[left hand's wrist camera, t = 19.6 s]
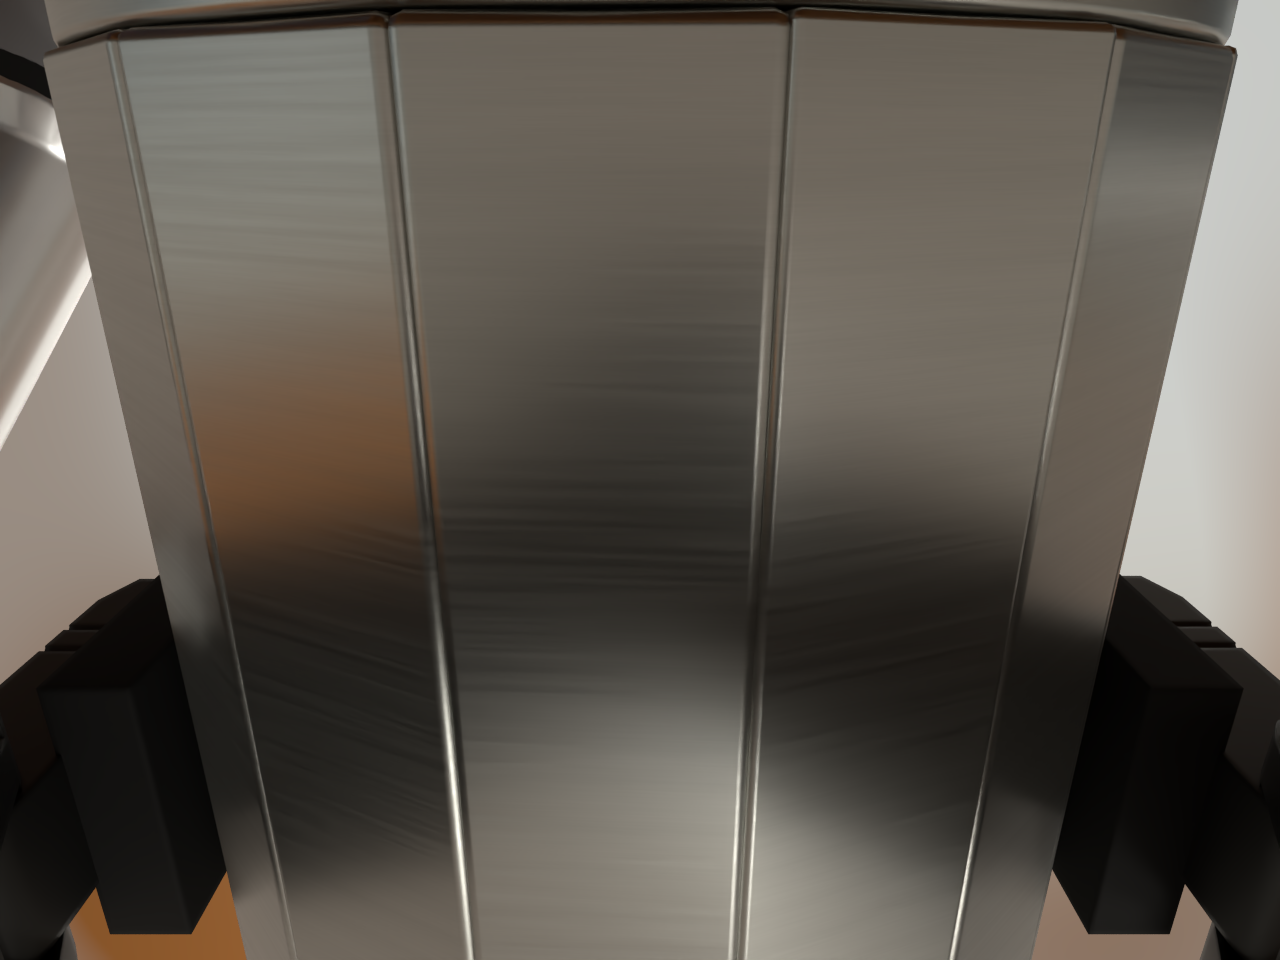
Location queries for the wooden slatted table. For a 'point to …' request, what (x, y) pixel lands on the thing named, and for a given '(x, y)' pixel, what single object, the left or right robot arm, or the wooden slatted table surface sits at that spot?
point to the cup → (639, 445)
